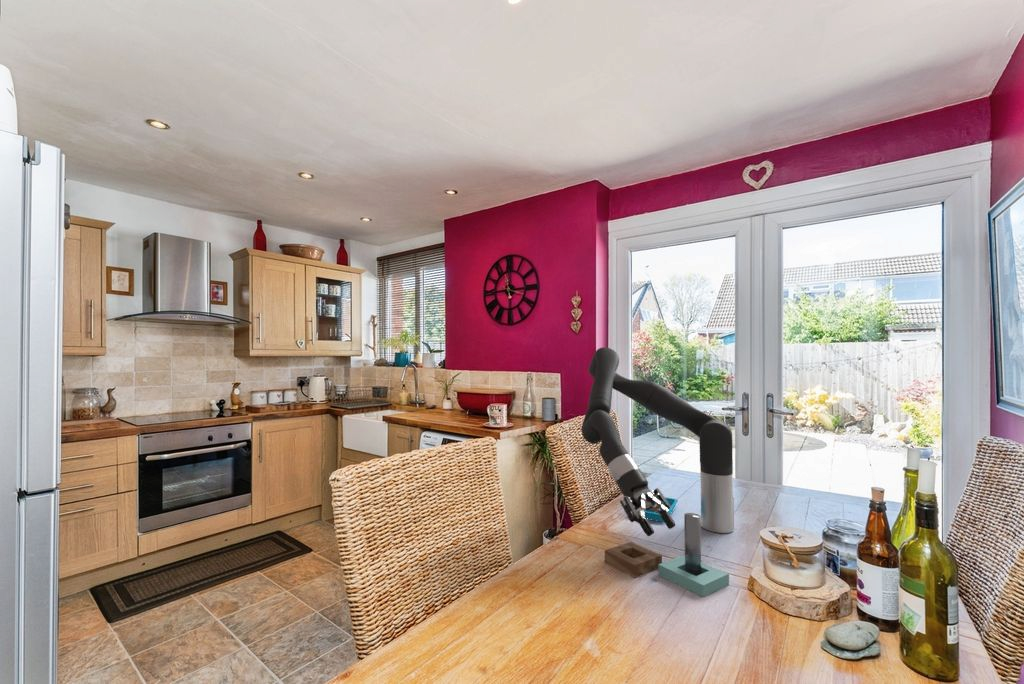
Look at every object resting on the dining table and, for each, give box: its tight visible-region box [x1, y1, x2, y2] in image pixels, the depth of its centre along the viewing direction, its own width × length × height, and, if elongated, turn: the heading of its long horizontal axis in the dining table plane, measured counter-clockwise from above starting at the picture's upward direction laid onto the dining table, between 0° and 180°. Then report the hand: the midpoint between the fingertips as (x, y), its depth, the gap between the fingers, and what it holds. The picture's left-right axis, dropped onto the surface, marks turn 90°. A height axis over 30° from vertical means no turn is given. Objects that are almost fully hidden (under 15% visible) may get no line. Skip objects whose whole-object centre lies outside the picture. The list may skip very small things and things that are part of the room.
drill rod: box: [683, 512, 702, 576], centre depth 106 cm, size 4×4×15 cm
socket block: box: [604, 541, 663, 579], centre depth 113 cm, size 10×10×3 cm
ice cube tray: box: [645, 496, 678, 523], centre depth 153 cm, size 12×20×3 cm, turn 150°
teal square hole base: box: [657, 554, 730, 598], centre depth 106 cm, size 10×12×2 cm
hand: (662, 531), depth 113 cm, fingers open, 8 cm apart
